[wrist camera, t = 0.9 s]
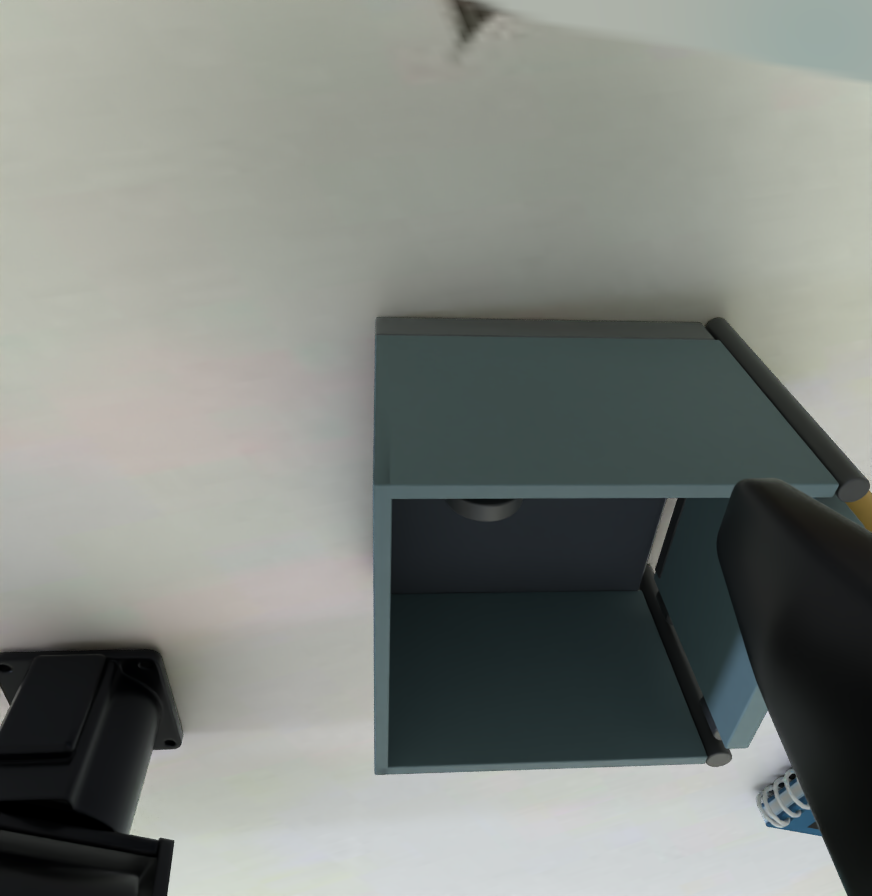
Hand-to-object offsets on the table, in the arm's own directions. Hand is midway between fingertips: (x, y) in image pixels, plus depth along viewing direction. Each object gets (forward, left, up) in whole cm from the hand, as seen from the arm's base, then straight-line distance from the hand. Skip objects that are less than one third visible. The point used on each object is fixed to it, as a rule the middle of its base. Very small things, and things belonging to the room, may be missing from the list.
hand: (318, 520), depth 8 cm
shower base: (-10, -6, -14) cm, 18 cm away
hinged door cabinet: (-10, -6, -14) cm, 18 cm away
